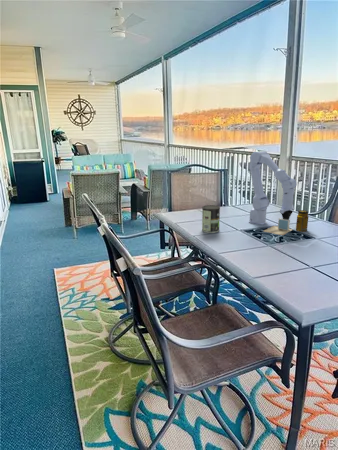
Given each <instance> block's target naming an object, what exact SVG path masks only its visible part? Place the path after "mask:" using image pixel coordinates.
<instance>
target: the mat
mask: <svg viewBox="0 0 338 450" xmlns="http://www.w3.org/2000/svg"><path fill="white" fill-rule="evenodd" d="M291 231H293V229H292V228H289V230H283V229H278V225H272V226H270V227H268V228H266V229H263V232H264V233H270V234H273V235H279V236H284V235H287V233H289V232H291Z"/></svg>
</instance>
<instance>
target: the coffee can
mask: <svg viewBox="0 0 338 450" xmlns="http://www.w3.org/2000/svg"><path fill="white" fill-rule="evenodd" d="M201 208H202V214H201V217H202V219H201V231H202V232H204V233H207V234H208V233H209V234H215V233H218V232H219V231H220V216H221V214H220V212H221V207H220V206H218V205H216V204H215V205H213V204H211V205H210V204H209V205H208V204H207V205H203V206H202V207H201Z"/></svg>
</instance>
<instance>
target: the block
mask: <svg viewBox="0 0 338 450" xmlns="http://www.w3.org/2000/svg"><path fill="white" fill-rule="evenodd" d="M290 222H291V219H289V220H288V219H283V217H282V218H278V223H277V227H278V229H283V230H289V229H290V224H291V223H290Z"/></svg>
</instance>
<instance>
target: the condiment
mask: <svg viewBox="0 0 338 450" xmlns="http://www.w3.org/2000/svg"><path fill="white" fill-rule="evenodd" d="M308 224H309V211H308V210H305V209H301V210H298V212H297V215H296V224H295V230H296V231H297V232H300V233H301V232H304V233H305V232H308V226H309V225H308Z"/></svg>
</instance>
